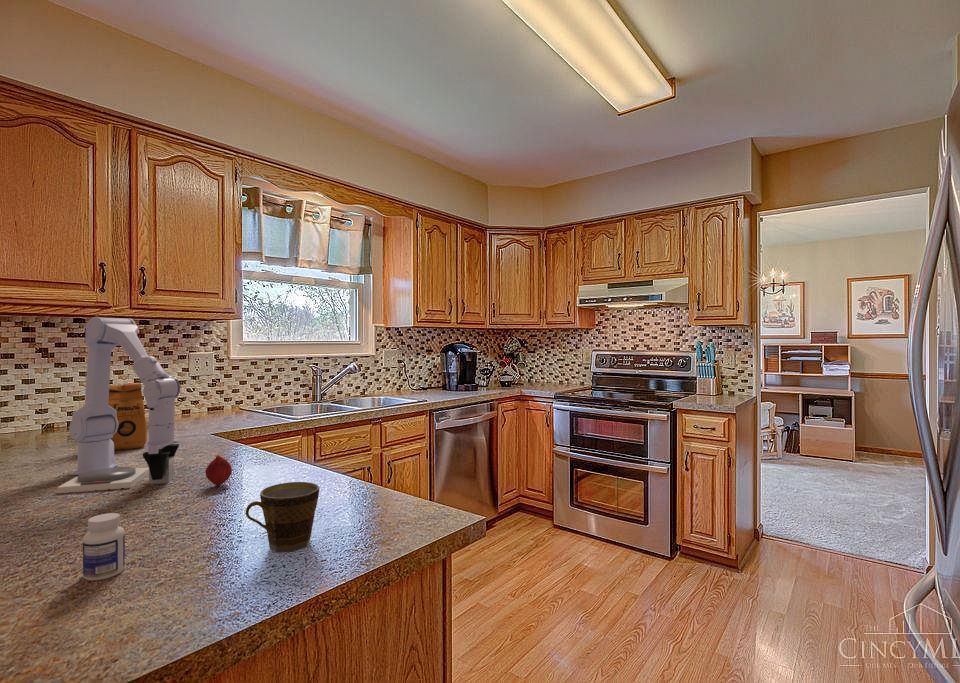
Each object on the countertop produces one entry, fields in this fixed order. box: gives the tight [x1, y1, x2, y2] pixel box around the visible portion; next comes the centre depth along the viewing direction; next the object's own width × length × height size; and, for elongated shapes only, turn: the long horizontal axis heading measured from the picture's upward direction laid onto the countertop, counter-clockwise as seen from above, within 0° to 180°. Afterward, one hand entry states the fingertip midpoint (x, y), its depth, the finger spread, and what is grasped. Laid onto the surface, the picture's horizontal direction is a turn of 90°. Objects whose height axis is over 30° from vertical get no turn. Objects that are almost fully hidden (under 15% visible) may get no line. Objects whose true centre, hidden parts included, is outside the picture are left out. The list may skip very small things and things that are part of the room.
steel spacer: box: [148, 456, 175, 485], centre depth 129 cm, size 4×4×6 cm
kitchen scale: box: [57, 466, 149, 494], centre depth 127 cm, size 15×15×2 cm
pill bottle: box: [82, 512, 126, 582], centre depth 78 cm, size 5×5×9 cm
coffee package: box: [108, 383, 148, 451], centre depth 168 cm, size 10×12×22 cm
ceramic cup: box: [245, 481, 320, 553], centre depth 88 cm, size 13×10×10 cm
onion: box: [205, 453, 233, 487], centre depth 125 cm, size 6×6×8 cm
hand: (161, 475), depth 129 cm, fingers open, 6 cm apart
